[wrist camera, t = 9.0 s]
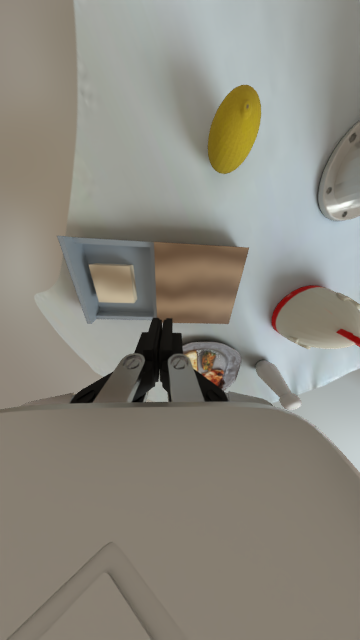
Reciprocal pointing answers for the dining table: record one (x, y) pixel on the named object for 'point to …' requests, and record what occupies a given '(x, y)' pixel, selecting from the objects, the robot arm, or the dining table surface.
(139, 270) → the box
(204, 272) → the wooden square board
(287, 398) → the salt shaker
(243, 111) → the lemon
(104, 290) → the tile
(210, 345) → the food plate
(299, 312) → the kitchen timer
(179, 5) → the dining table surface
